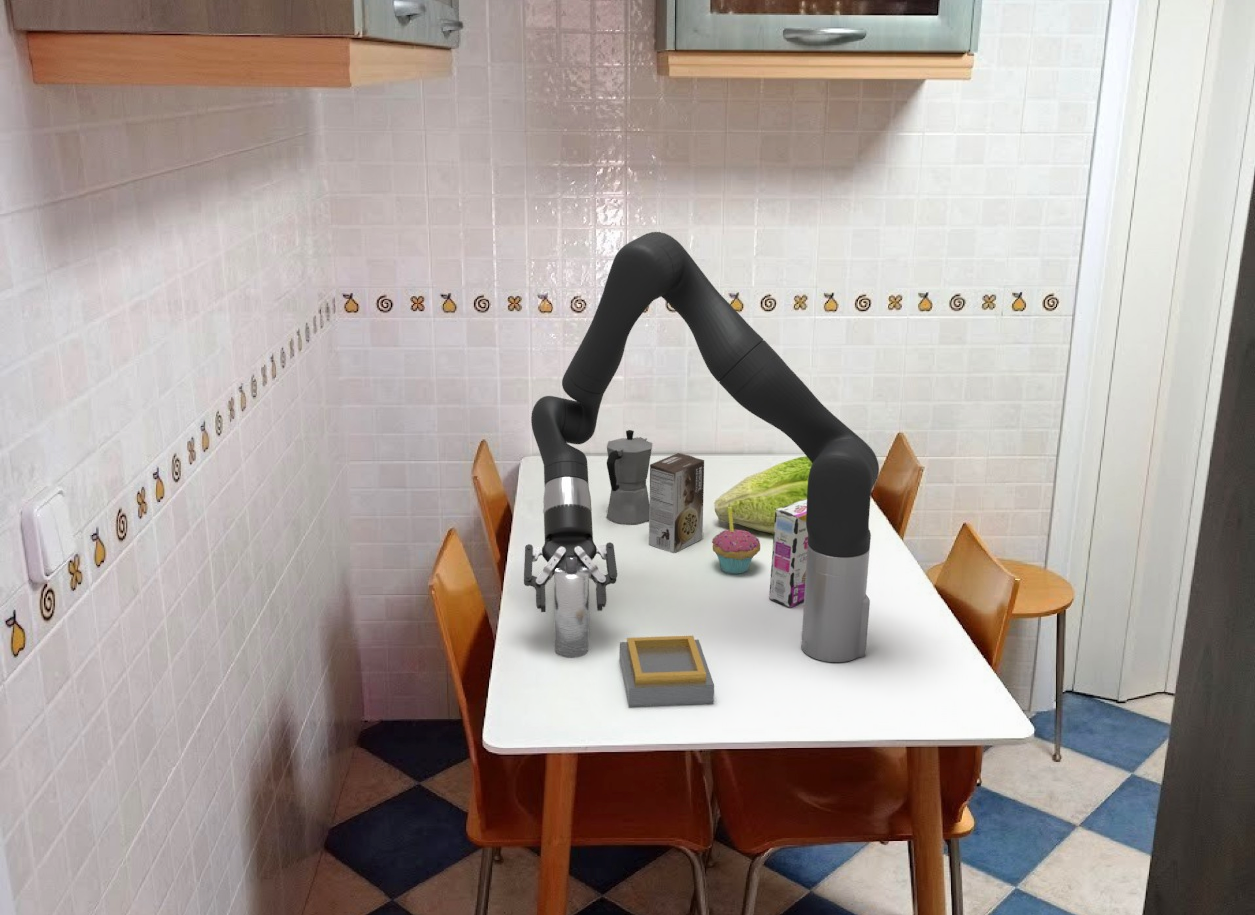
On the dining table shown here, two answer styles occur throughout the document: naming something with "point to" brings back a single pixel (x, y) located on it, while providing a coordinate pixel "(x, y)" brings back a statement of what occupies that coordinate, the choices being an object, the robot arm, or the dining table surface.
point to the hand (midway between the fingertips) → (571, 609)
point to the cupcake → (735, 548)
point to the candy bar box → (789, 554)
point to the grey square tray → (665, 671)
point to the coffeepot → (628, 479)
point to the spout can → (571, 609)
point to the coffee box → (676, 502)
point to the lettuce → (765, 494)
